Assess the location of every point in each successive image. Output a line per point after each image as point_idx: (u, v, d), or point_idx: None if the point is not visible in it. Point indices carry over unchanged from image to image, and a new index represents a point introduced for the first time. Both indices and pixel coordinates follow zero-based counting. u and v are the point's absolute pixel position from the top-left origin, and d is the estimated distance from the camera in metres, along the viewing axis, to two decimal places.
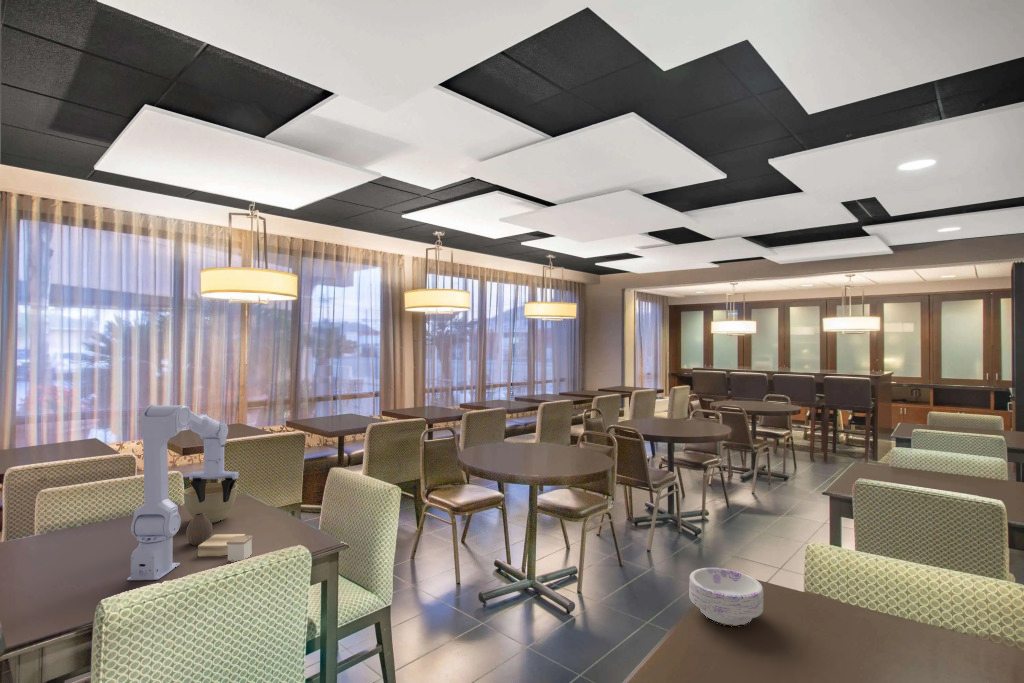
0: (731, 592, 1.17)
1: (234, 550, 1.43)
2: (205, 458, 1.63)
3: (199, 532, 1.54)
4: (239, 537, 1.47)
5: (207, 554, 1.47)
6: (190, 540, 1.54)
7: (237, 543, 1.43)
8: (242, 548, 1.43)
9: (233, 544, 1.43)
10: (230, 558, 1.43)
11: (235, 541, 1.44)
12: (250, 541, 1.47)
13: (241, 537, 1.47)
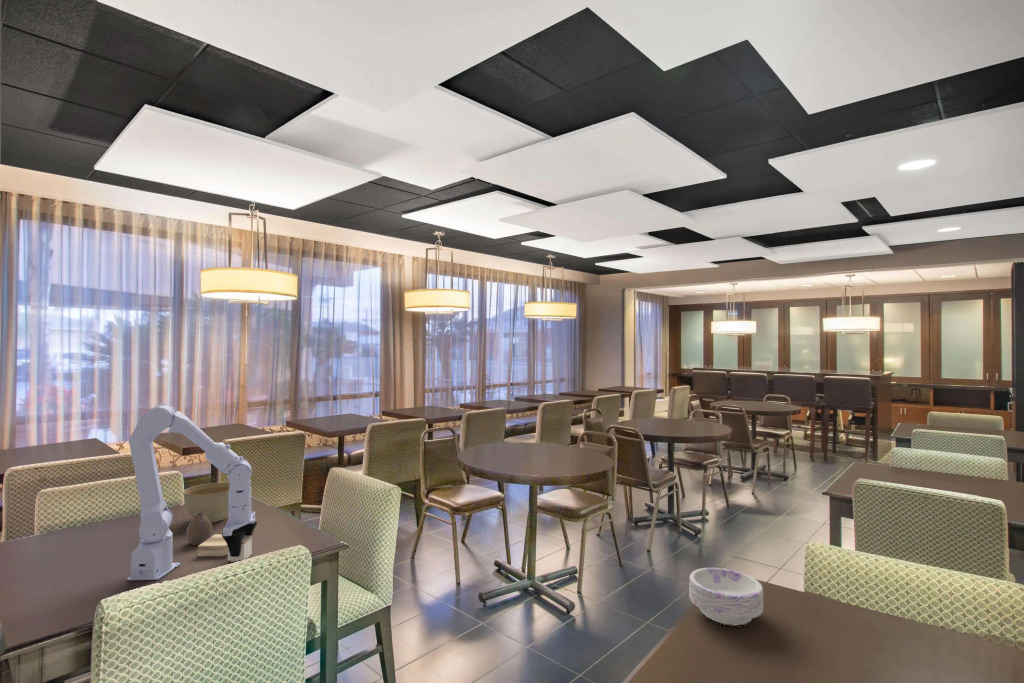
0: (731, 592, 1.17)
1: None
2: None
3: (199, 532, 1.54)
4: None
5: (207, 554, 1.47)
6: (190, 540, 1.54)
7: None
8: (242, 547, 1.43)
9: None
10: (230, 558, 1.43)
11: None
12: (250, 541, 1.47)
13: None
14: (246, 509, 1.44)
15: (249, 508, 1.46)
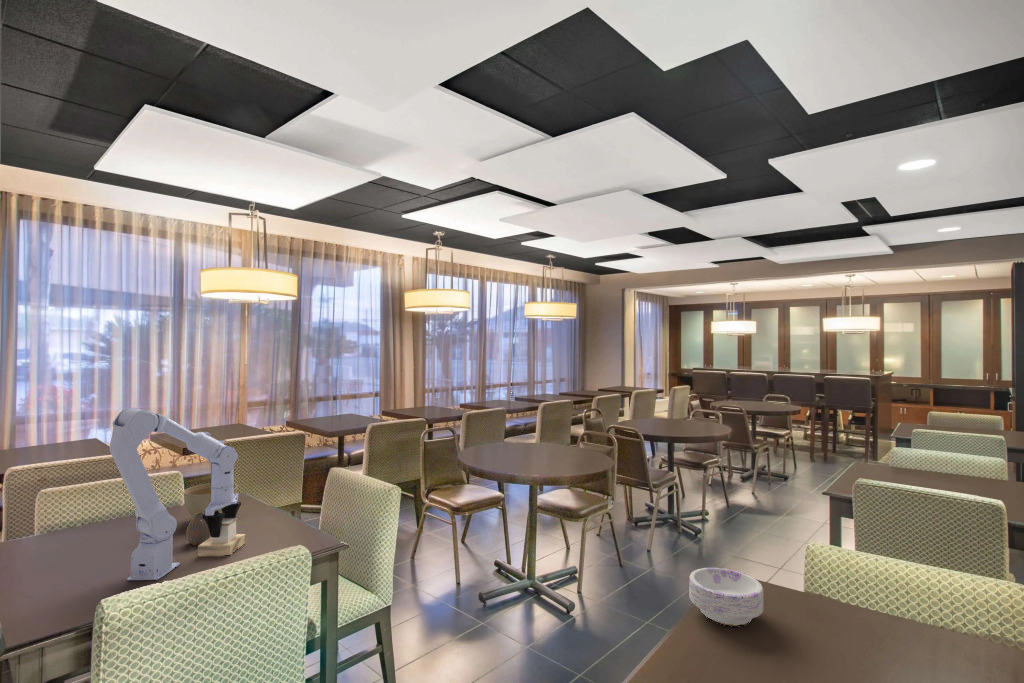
0: (731, 592, 1.17)
1: None
2: None
3: (199, 532, 1.54)
4: (224, 519, 1.53)
5: (207, 554, 1.47)
6: (190, 540, 1.54)
7: (221, 525, 1.49)
8: (226, 529, 1.49)
9: None
10: (215, 539, 1.49)
11: None
12: (234, 523, 1.53)
13: (226, 519, 1.53)
14: (228, 490, 1.50)
15: (231, 490, 1.51)
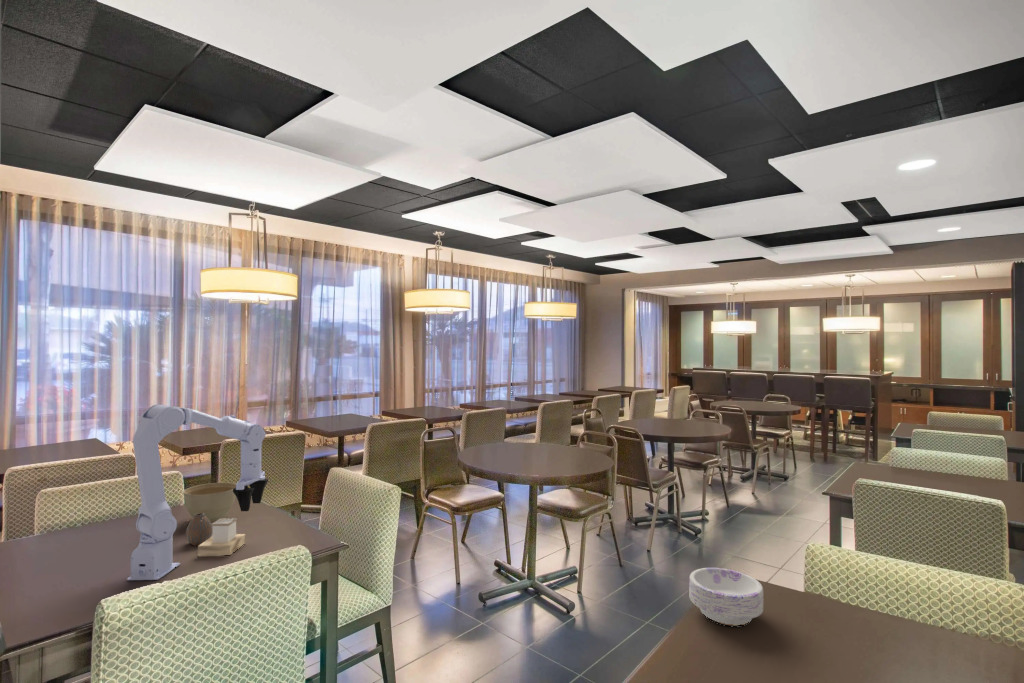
0: (731, 592, 1.17)
1: (218, 531, 1.49)
2: None
3: (199, 532, 1.54)
4: (224, 519, 1.53)
5: (207, 554, 1.47)
6: (190, 540, 1.54)
7: (221, 525, 1.49)
8: (226, 529, 1.49)
9: (218, 526, 1.49)
10: (215, 539, 1.49)
11: (220, 523, 1.50)
12: (234, 523, 1.53)
13: (226, 519, 1.53)
14: (257, 467, 1.57)
15: (259, 466, 1.59)
